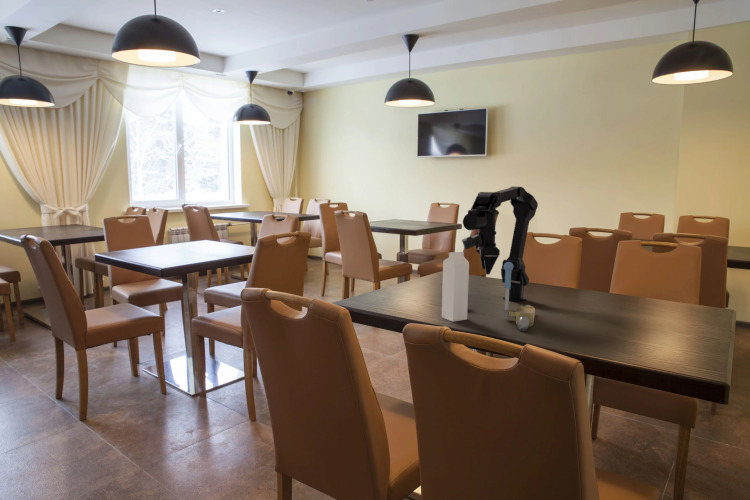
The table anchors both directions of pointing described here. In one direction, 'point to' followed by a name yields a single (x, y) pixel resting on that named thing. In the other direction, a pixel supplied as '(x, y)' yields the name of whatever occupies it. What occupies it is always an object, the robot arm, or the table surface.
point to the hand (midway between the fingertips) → (485, 271)
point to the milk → (455, 287)
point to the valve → (524, 316)
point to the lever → (507, 285)
